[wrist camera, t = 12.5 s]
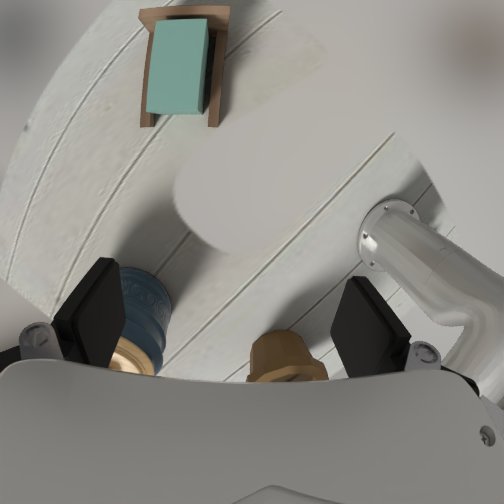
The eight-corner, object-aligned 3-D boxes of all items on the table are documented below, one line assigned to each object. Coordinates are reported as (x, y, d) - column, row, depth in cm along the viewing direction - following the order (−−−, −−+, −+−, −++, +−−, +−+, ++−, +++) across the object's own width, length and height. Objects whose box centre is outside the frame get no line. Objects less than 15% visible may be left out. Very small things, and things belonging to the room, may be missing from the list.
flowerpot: (223, 347, 48) (237, 509, 21) (291, 307, 46) (353, 477, 19) (265, 381, 54) (293, 512, 27) (325, 349, 52) (380, 481, 25)
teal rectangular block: (209, 43, 27) (206, 18, 19) (202, 114, 31) (197, 110, 23) (170, 44, 26) (156, 21, 18) (163, 114, 30) (146, 111, 22)
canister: (178, 275, 40) (161, 366, 25) (167, 336, 45) (155, 422, 30) (98, 256, 37) (47, 333, 22) (99, 319, 42) (66, 397, 27)
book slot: (227, 29, 26) (230, 6, 19) (218, 127, 32) (217, 127, 25) (155, 30, 25) (140, 9, 17) (145, 127, 31) (125, 128, 23)
